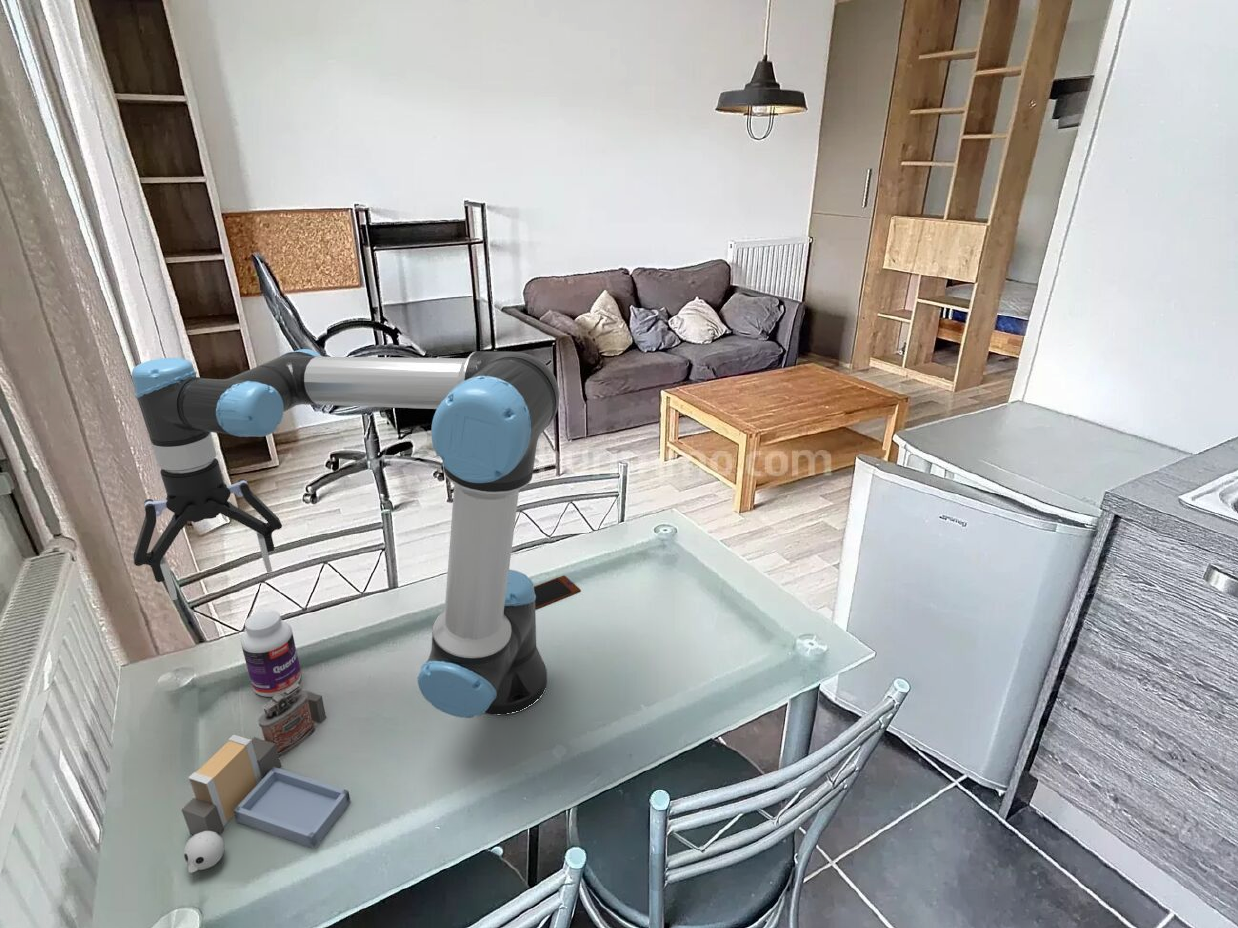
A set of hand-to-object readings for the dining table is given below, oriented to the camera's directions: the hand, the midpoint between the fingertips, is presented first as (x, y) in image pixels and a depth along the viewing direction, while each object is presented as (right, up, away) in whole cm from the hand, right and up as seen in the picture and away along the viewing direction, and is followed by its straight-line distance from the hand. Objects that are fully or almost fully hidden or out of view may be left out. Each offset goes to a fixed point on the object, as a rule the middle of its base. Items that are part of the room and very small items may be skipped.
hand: (222, 581), depth 110 cm
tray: (+16, -32, -10) cm, 37 cm away
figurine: (+8, -36, -17) cm, 40 cm away
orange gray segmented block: (+9, -29, -3) cm, 30 cm away
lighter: (+10, -27, +2) cm, 29 cm away
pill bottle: (+2, -21, +13) cm, 25 cm away
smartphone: (+48, -10, +40) cm, 63 cm away
